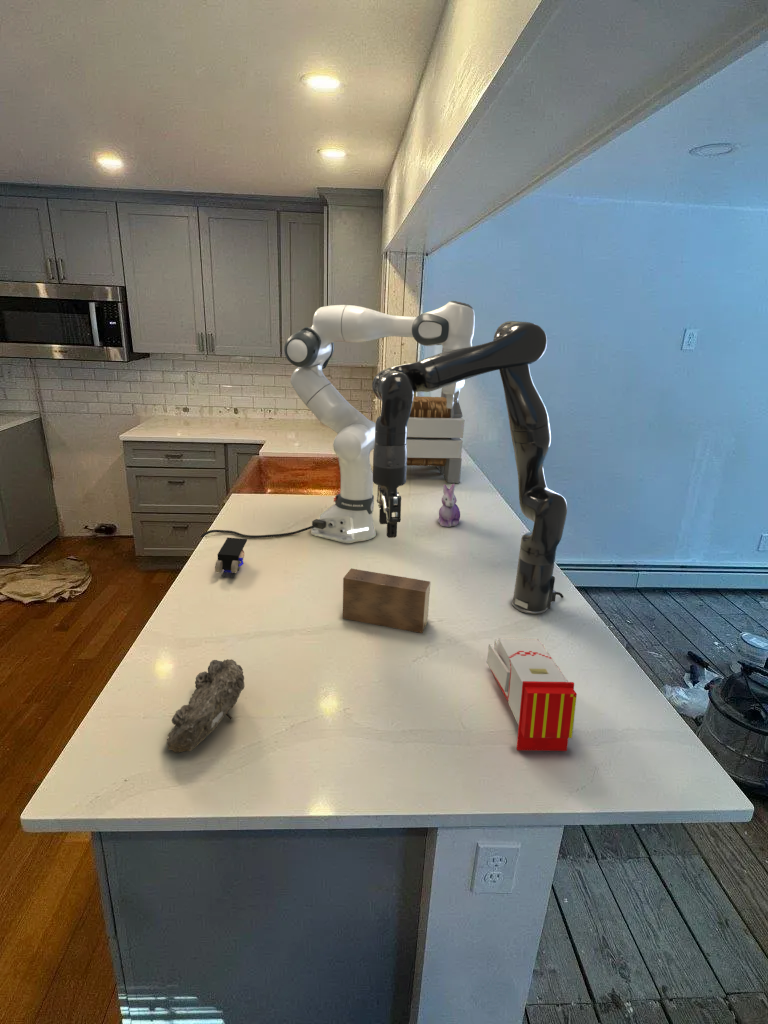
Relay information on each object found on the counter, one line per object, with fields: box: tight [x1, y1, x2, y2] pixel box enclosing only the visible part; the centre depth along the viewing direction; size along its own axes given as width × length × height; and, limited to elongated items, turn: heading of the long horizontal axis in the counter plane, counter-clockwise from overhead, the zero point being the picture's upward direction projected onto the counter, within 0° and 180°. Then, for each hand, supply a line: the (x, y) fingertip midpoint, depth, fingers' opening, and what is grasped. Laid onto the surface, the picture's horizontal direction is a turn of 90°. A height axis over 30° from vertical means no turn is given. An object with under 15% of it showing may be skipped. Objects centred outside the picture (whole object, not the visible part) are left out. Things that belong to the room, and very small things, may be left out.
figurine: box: [437, 483, 461, 528], centre depth 209 cm, size 9×10×15 cm
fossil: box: [166, 658, 245, 754], centre depth 106 cm, size 22×10×15 cm
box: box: [342, 568, 431, 634], centre depth 142 cm, size 21×6×12 cm, turn 74°
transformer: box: [407, 390, 465, 484], centre depth 268 cm, size 34×33×41 cm
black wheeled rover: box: [214, 537, 248, 578], centre depth 166 cm, size 7×8×15 cm
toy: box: [486, 637, 578, 752], centre depth 114 cm, size 12×13×30 cm
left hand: (452, 405), depth 174 cm, fingers open, 8 cm apart
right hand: (387, 530), depth 131 cm, fingers open, 8 cm apart
